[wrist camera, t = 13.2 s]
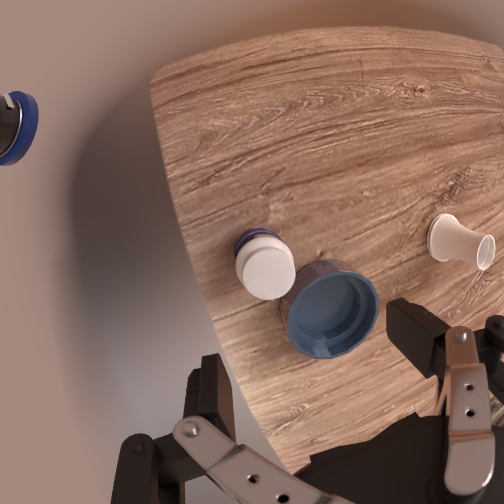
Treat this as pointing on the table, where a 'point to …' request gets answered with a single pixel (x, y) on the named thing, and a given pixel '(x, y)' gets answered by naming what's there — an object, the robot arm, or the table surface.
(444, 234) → the vase
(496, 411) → the apothecary jar
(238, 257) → the pill bottle
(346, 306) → the bowl
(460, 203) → the table surface
